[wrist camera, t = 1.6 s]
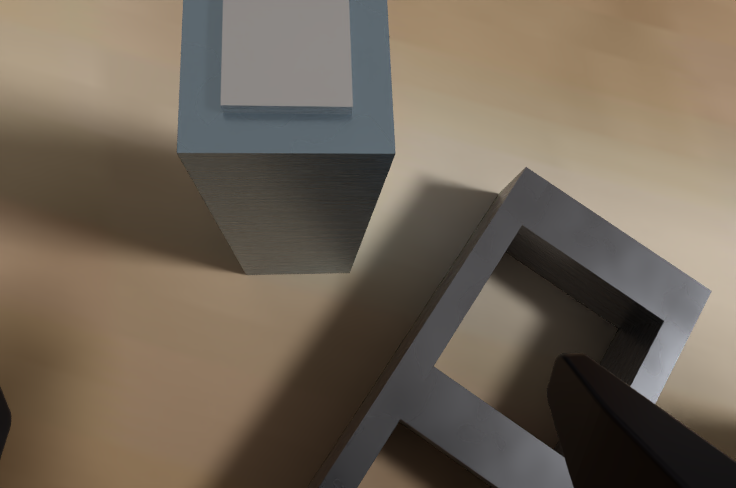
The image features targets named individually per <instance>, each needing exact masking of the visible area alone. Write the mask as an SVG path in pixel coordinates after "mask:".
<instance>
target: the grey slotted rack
mask: <svg viewBox="0 0 736 488" xmlns="http://www.w3.org/2000/svg"><path fill="white" fill-rule="evenodd" d="M505 252H507V253H508V254H510V255H511V256H513V257H514V258H516V259H517V260H519V261H520V262H522V263H523V264H525V265H526V266H528V267H529V268H531V269H532V270H533V271H535V272H536V273H538V274H539V275H541V276H542V277H544V278H545V279H547V280H548V281H550V282H551V283H553V284H554V285H556V286H557V287H558V288H560V289H561V290H563V291H564V292H566V293H567V294H569V295H570V296H572V297H573V298H575V299H576V300H578V301H579V302H581V303H582V304H583V305H585V306H586V307H588V308H589V309H591V310H592V311H594V312H595V313H597V314H598V315H600V316H601V317H603V318H604V319H606V320H607V321H609V322H610V323H611V324H613V325H614V326H616V327H617V328H619V330H618V332H617V334H616V335H615V337H614V339H613V341H612V343H611V345H610V347H609V348H608V350H607V352H606V354H605V356H604V358H603V359H602V361H601V363H600V365H601V366H602V367H604V368H605V369H607V370H608V371H609V372H611V373H612V374H614V375H615V376H616V377H618V378H619V379H621V380H622V381H623V382H625V383H626V384H628V385H629V386H630V387H632V388H633V389H635V390H636V391H637V392H639V393H640V394H642V395H643V396H644V397H646V398H647V399H649V400H650V401H651V402H653V403H654V404H655V403H656V401H657V399H658V397H659V395H660V393H661V391H662V389H663V387H664V385H665V383H666V381H667V379H668V377H669V375H670V373H671V371H672V369H673V367H674V365H675V363H676V361H677V359H678V357H679V355H680V353H681V351H682V349H683V347H684V345H685V343H686V341H687V339H688V337H689V335H690V333H691V331H692V329H693V327H694V325H695V323H696V321H697V319H698V317H699V315H700V313H701V311H702V309H703V307H704V305H705V303H706V301H707V299H708V297H709V295H710V293H711V290H709V289H708V288H706V287H705V286H703V285H702V284H700V283H699V282H697V281H696V280H694V279H693V278H691V277H690V276H688V275H687V274H685V273H684V272H682V271H681V270H679V269H678V268H676V267H675V266H673V265H672V264H670V263H669V262H667V261H666V260H664V259H663V258H661V257H660V256H658V255H657V254H655V253H654V252H652V251H651V250H649V249H648V248H646V247H645V246H643V245H642V244H640V243H639V242H637V241H636V240H634V239H633V238H631V237H630V236H628V235H627V234H625V233H624V232H622V231H621V230H619V229H618V228H616V227H615V226H613V225H612V224H611V223H609V222H608V221H606V220H605V219H603V218H602V217H600V216H599V215H597V214H596V213H594V212H593V211H591V210H590V209H588V208H587V207H585V206H584V205H582V204H581V203H579V202H578V201H576V200H575V199H573V198H572V197H570V196H569V195H567V194H566V193H564V192H563V191H561V190H560V189H558V188H557V187H555V186H554V185H552V184H551V183H549V182H548V181H546V180H545V179H543V178H542V177H540V176H539V175H537V174H536V173H534V172H533V171H531V170H530V169H528V168H527V167H526V168H525V169H524V170H523V171H522V172H521V173H520V174H518V175H517V176H516V177H515V178H514V179H513V180H512V181H511V182H510V183H509V184H508V185H507V186H506V187H505V188H504V189H503V190H502V191H501V192H500V193H499V195H498V196H497V198H496V199H495V201H494V202H493V204H492V205H491V207H490V208H489V210H488V211H487V213H486V215H485V216H484V218H483V219H482V221H481V222H480V224H479V225H478V227H477V228H476V230H475V231H474V233H473V234H472V236H471V238H470V239H469V241H468V242H467V244H466V245H465V247H464V248H463V250H462V251H461V253H460V254H459V256H458V257H457V259H456V261H455V262H454V264H453V265H452V267H451V268H450V270H449V271H448V273H447V274H446V276H445V277H444V279H443V280H442V282H441V284H440V285H439V287H438V288H437V290H436V291H435V293H434V294H433V296H432V297H431V299H430V300H429V302H428V303H427V305H426V306H425V308H424V310H423V311H422V313H421V314H420V316H419V317H418V319H417V320H416V322H415V323H414V325H413V326H412V328H411V329H410V331H409V333H408V334H407V336H406V337H405V339H404V340H403V342H402V343H401V345H400V346H399V348H398V349H397V351H396V352H395V354H394V356H393V357H392V359H391V360H390V362H389V363H388V365H387V366H386V368H385V369H384V371H383V372H382V374H381V375H380V377H379V379H378V380H377V382H376V383H375V385H374V386H373V388H372V389H371V391H370V392H369V394H368V395H367V397H366V398H365V400H364V402H363V403H362V405H361V406H360V408H359V409H358V411H357V412H356V414H355V415H354V417H353V418H352V420H351V421H350V423H349V424H348V426H347V428H346V429H345V431H344V432H343V434H342V435H341V437H340V438H339V440H338V441H337V443H336V444H335V446H334V447H333V449H332V451H331V452H330V454H329V455H328V457H327V458H326V460H325V461H324V463H323V464H322V466H321V467H320V469H319V470H318V472H317V474H316V475H315V477H314V478H313V480H312V481H311V483H310V484H309V486H308V487H307V488H357V487H358V486H359V484H360V482H361V481H362V479H363V478H364V476H365V474H366V473H367V471H368V470H369V468H370V466H371V465H372V463H373V462H374V460H375V458H376V457H377V455H378V454H379V452H380V450H381V449H382V447H383V446H384V444H385V443H386V441H387V439H388V438H389V436H390V435H391V433H392V431H393V430H394V428H395V427H396V425H397V423H398V422H400V423H402V424H403V425H404V426H406V427H407V428H409V429H410V430H411V431H413V432H414V433H416V434H417V435H419V436H420V437H421V438H423V439H424V440H426V441H427V442H429V443H430V444H431V445H433V446H434V447H436V448H437V449H438V450H440V451H441V452H443V453H444V454H446V455H447V456H448V457H450V458H451V459H453V460H454V461H455V462H457V463H458V464H460V465H461V466H463V467H464V468H465V469H467V470H468V471H470V472H471V473H472V474H474V475H475V476H477V477H478V478H480V479H481V480H482V481H484V482H485V483H487V484H488V485H489V486H491V487H492V488H574V487H573V484H572V481H571V478H570V475H569V472H568V468H567V465H566V462H565V458H564V455H563V451H562V448H561V444H560V441H558V443H557V445H556V447H555V448H554V450H553V449H551V448H550V447H548V446H547V445H546V444H544V443H543V442H541V441H540V440H538V439H537V438H536V437H534V436H533V435H531V434H530V433H528V432H527V431H525V430H524V429H523V428H521V427H520V426H518V425H517V424H515V423H514V422H513V421H511V420H510V419H508V418H507V417H505V416H504V415H503V414H501V413H500V412H498V411H497V410H495V409H494V408H492V407H491V406H490V405H488V404H487V403H485V402H484V401H482V400H481V399H480V398H478V397H477V396H475V395H474V394H472V393H471V392H470V391H468V390H467V389H465V388H464V387H462V386H461V385H460V384H458V383H457V382H455V381H454V380H452V379H451V378H449V377H448V376H447V375H445V374H444V373H442V372H441V371H439V370H438V369H437V368H435V367H434V364H435V363H436V361H437V360H438V358H439V357H440V355H441V353H442V352H443V350H444V349H445V347H446V345H447V344H448V342H449V341H450V339H451V337H452V336H453V334H454V333H455V331H456V329H457V328H458V326H459V325H460V323H461V321H462V320H463V318H464V317H465V315H466V313H467V312H468V310H469V309H470V307H471V306H472V304H473V302H474V301H475V299H476V298H477V296H478V294H479V293H480V291H481V290H482V288H483V286H484V285H485V283H486V282H487V280H488V278H489V277H490V275H491V274H492V272H493V270H494V269H495V267H496V266H497V264H498V263H499V261H500V259H501V258H502V256H503V255H504V253H505Z"/></svg>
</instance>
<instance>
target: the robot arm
mask: <svg viewBox="0 0 736 488" xmlns="http://www.w3.org/2000/svg"><path fill="white" fill-rule="evenodd" d="M547 398H548V403H549V406H550V410H551V413H552V417H553V420H554V424H555V427H556V431H557V434H558V437H559V441H560V444H561V448H562V451H563V455H564V458H565V462H566V465H567V468H568V472H569V475H570V478H571V481H572V484H573V487H574V488H736V462H735V461H734V460H732V459H731V458H730V457H728V456H727V455H726V454H724V453H723V452H721V451H720V450H719V449H717V448H716V447H714V446H713V445H712V444H710V443H709V442H707V441H706V440H705V439H703V438H702V437H700V436H699V435H698V434H696V433H695V432H693V431H692V430H691V429H689V428H688V427H686V426H685V425H684V424H682V423H681V422H679V421H678V420H677V419H675V418H674V417H672V416H671V415H670V414H668V413H667V412H665V411H664V410H663V409H661V408H660V407H658V406H657V405H656V404H654V403H653V402H651V401H650V400H649V399H647V398H646V397H644V396H643V395H642V394H640V393H639V392H637V391H636V390H635V389H633V388H632V387H630V386H629V385H628V384H626V383H625V382H623V381H622V380H621V379H619V378H618V377H616V376H615V375H614V374H612V373H611V372H609V371H608V370H607V369H605V368H604V367H602V366H601V365H600V364H598V363H597V362H595V361H594V360H593V359H591V358H590V357H588V356H587V355H585V354H583V353H562V354H560V355H558V357H557V358H556V360H555V364H554V367H553V371H552V374H551V377H550V381H549V384H548V388H547ZM10 426H11V412H10V409H9V407H8V404H7V402H6V399H5V397H4V394H3V392H2V389H1V387H0V458H1V455H2V452H3V449H4V446H5V443H6V439H7V436H8V433H9V430H10Z"/></svg>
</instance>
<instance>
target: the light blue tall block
mask: <svg viewBox="0 0 736 488" xmlns="http://www.w3.org/2000/svg"><path fill="white" fill-rule="evenodd" d="M177 154H178V156H179V158H180V159H181V161H182V163H183V165H184V166H185V168H186V170H187V172H188V173H189V175H190V177H191V179H192V180H193V182H194V184H195V186H196V187H197V189H198V191H199V193H200V194H201V196H202V198H203V200H204V201H205V203H206V205H207V207H208V208H209V210H210V212H211V214H212V216H213V217H214V219H215V221H216V223H217V224H218V226H219V228H220V230H221V231H222V233H223V235H224V237H225V238H226V240H227V242H228V244H229V245H230V247H231V249H232V251H233V252H234V254H235V256H236V258H237V259H238V261H239V263H240V265H241V266H242V268H243V270H244V272H245V273H246V275H267V274H317V273H350V271H351V268H352V266H353V263H354V260H355V258H356V255H357V252H358V250H359V247H360V245H361V242H362V239H363V237H364V234H365V232H366V229H367V226H368V224H369V221H370V219H371V216H372V213H373V211H374V208H375V205H376V203H377V200H378V198H379V195H380V192H381V190H382V187H383V185H384V182H385V179H386V177H387V174H388V172H389V169H390V166H391V164H392V161H393V158H394V156H395V138H394V120H393V101H392V83H391V65H390V47H389V28H388V10H387V0H183V19H182V43H181V67H180V90H179V114H178V138H177Z"/></svg>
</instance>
